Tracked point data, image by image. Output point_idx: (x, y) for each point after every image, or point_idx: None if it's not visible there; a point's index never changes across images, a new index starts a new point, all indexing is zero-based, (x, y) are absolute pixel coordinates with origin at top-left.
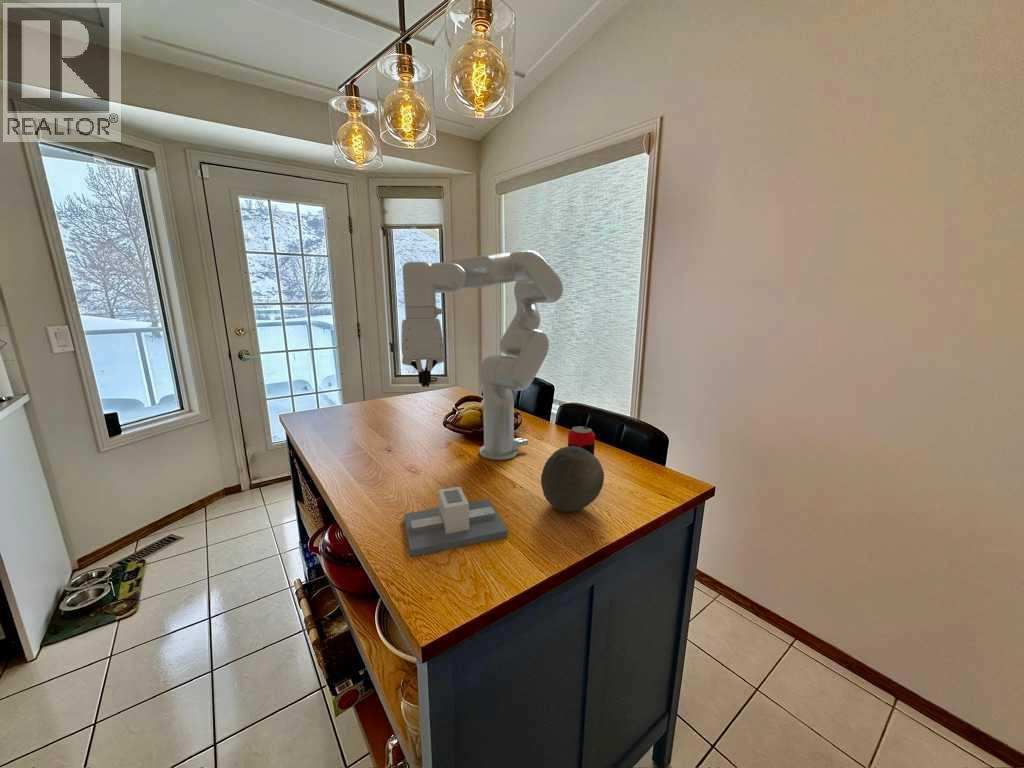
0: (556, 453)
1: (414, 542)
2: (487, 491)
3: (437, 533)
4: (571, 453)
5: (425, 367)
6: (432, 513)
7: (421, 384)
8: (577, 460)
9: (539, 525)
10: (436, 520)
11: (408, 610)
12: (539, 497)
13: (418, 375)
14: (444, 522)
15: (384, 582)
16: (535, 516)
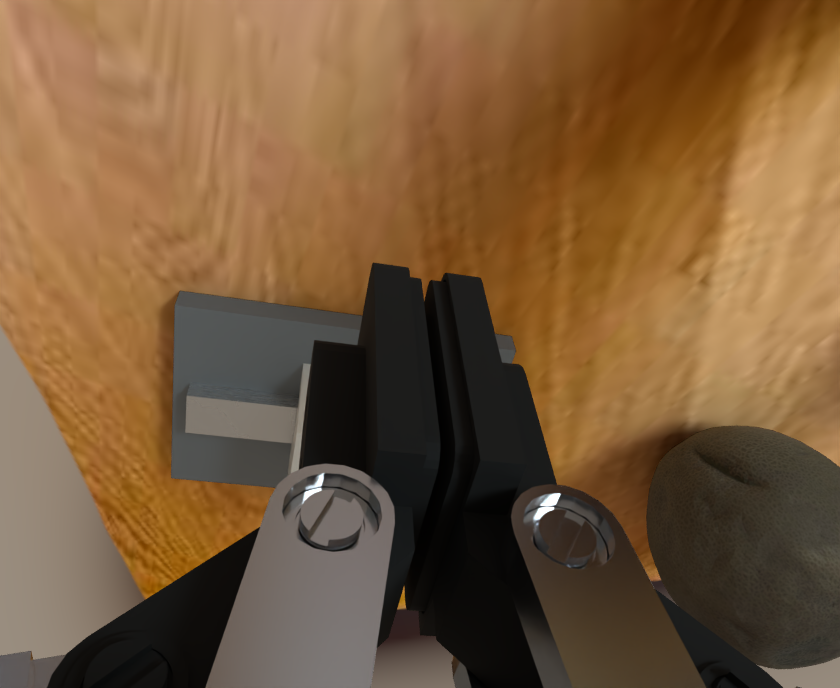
0: (764, 614)
1: (188, 456)
2: (567, 248)
3: (265, 447)
4: (788, 652)
5: (479, 578)
6: (281, 347)
7: (368, 287)
8: (763, 665)
9: (567, 482)
10: (273, 426)
11: (151, 580)
12: (693, 371)
13: (304, 436)
14: (289, 464)
15: (100, 509)
16: (592, 448)
